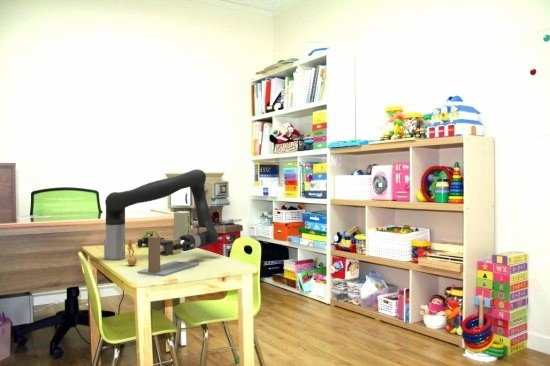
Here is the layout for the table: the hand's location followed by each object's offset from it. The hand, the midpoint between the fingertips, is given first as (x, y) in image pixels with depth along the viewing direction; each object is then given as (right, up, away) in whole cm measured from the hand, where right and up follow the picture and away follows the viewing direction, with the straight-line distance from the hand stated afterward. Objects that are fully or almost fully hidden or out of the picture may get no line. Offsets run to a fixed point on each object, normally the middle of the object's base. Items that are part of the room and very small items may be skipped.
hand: (167, 247), depth 207 cm
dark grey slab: (-1, -3, -2) cm, 4 cm away
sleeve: (+1, -3, +2) cm, 4 cm away
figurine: (-19, -10, +9) cm, 23 cm away
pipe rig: (+1, -10, +2) cm, 10 cm away
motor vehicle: (-26, -9, +68) cm, 73 cm away
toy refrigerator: (-5, -9, +57) cm, 58 cm away
